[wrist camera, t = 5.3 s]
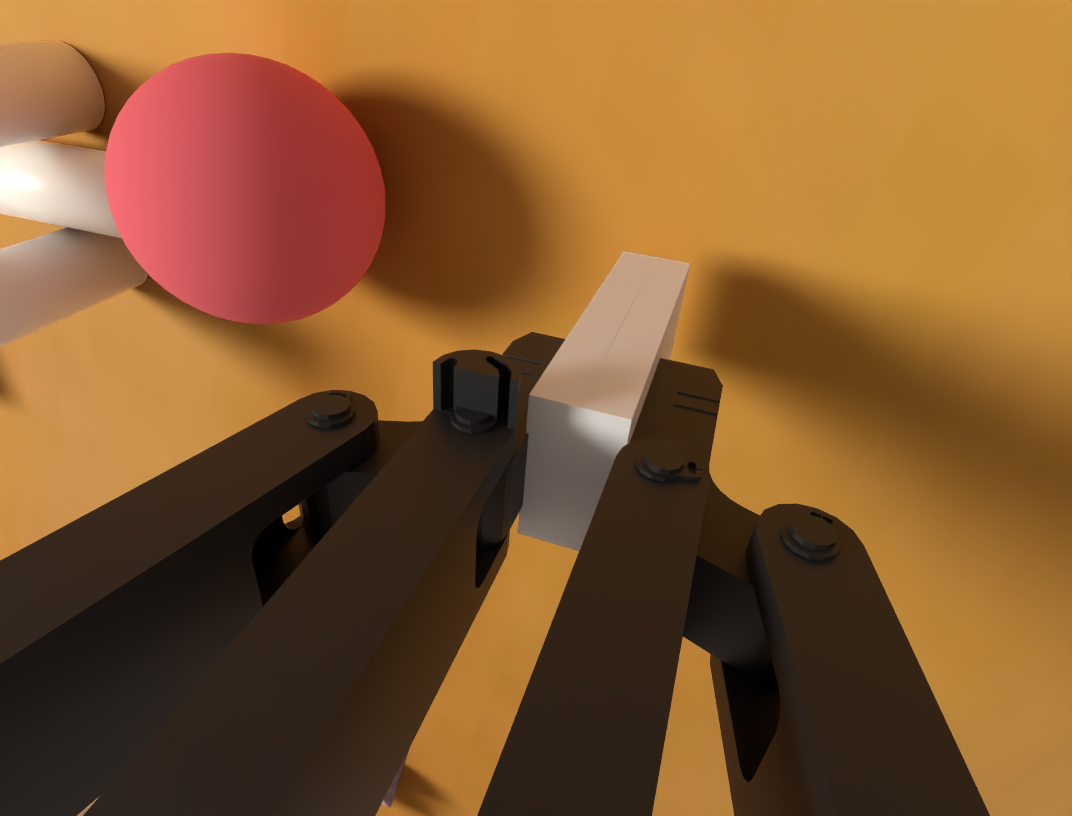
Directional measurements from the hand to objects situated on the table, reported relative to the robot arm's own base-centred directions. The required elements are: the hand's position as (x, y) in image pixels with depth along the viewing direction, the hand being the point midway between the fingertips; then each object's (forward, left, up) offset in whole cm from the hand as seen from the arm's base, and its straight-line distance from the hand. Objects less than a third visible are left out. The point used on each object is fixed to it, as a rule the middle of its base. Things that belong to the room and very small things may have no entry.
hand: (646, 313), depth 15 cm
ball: (+9, -1, +1) cm, 10 cm away
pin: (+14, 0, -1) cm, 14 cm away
